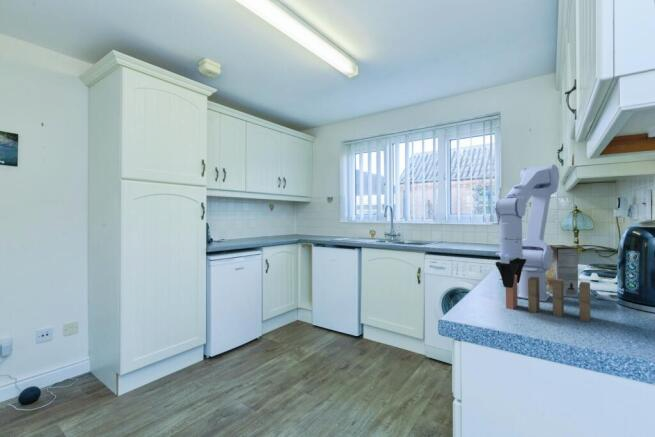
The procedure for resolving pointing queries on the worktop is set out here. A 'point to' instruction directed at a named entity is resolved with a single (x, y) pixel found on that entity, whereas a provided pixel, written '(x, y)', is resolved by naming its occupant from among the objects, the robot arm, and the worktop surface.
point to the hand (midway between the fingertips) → (511, 284)
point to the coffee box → (564, 269)
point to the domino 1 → (512, 295)
